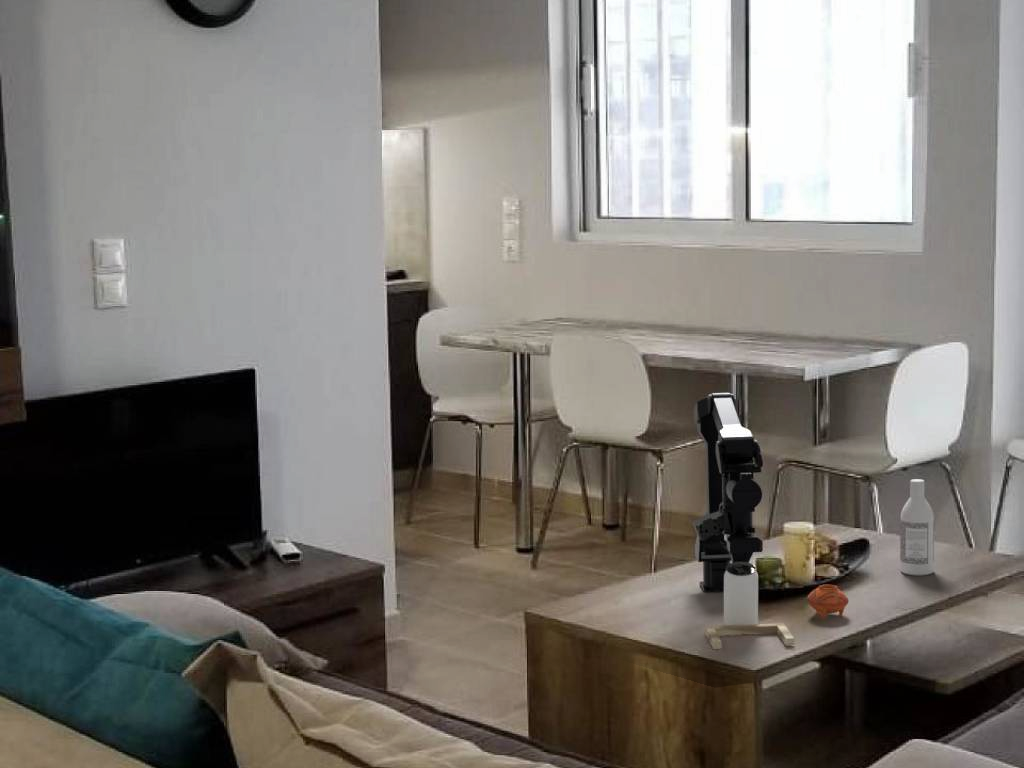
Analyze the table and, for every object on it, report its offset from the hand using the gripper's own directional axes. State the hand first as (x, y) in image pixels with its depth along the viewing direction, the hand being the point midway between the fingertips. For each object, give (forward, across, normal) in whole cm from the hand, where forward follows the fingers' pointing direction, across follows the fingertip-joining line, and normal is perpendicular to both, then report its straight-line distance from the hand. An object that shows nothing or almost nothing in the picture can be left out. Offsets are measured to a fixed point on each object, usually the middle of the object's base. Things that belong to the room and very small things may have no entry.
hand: (738, 578), depth 314 cm
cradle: (+9, +10, 0) cm, 14 cm away
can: (+8, +2, 0) cm, 9 cm away
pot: (+9, -3, +18) cm, 20 cm away
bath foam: (+8, -32, +44) cm, 55 cm away
